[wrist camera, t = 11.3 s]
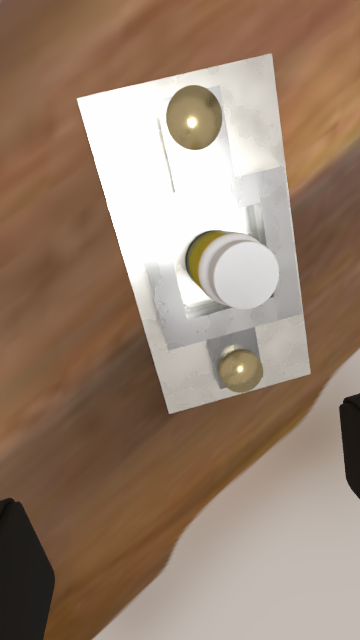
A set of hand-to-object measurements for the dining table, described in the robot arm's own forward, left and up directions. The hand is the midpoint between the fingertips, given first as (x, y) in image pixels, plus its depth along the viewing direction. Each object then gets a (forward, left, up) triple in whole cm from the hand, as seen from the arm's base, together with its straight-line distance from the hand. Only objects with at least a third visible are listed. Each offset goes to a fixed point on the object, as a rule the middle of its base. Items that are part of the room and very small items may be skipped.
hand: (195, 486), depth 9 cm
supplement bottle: (+3, -6, -19) cm, 20 cm away
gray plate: (+3, -6, -20) cm, 21 cm away
